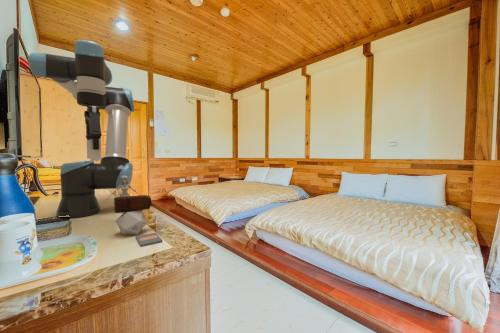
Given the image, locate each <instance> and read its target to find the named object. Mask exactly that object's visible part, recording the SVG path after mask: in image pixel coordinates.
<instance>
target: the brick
mask: <svg viewBox="0 0 500 333" xmlns="http://www.w3.org/2000/svg"><path fill="white" fill-rule="evenodd" d="M113 205H114V213H115V214H120V213H121V214H122V212H131V211H138V210H142V211H144V210H150V208H151V206H152V198H151V196H150V195H146V194H142V195H141V194H140V195H139V194H138V195H130V196H124V197H120V196H116V197H114V199H113Z"/></svg>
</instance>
